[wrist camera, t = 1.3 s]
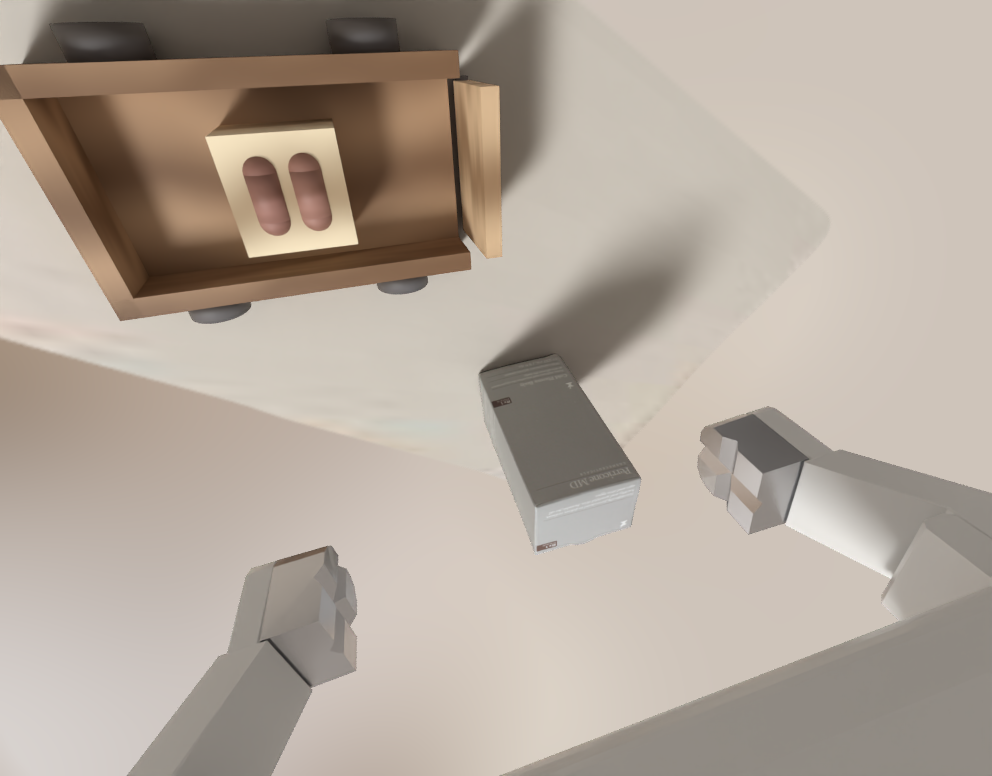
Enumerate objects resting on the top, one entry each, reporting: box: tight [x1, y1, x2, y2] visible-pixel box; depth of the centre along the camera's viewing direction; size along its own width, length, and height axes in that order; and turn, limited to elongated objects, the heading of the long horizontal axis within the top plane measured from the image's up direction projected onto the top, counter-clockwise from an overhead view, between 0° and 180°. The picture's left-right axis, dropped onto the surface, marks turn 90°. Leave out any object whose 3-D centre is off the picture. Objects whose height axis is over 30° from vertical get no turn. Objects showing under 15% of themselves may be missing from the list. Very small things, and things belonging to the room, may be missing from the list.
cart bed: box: [0, 18, 471, 324], centre depth 27 cm, size 15×21×4 cm
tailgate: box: [453, 76, 502, 259], centre depth 28 cm, size 9×1×6 cm, turn 1°
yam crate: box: [205, 118, 358, 258], centre depth 26 cm, size 6×6×5 cm
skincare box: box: [479, 354, 641, 555], centre depth 38 cm, size 8×7×16 cm
